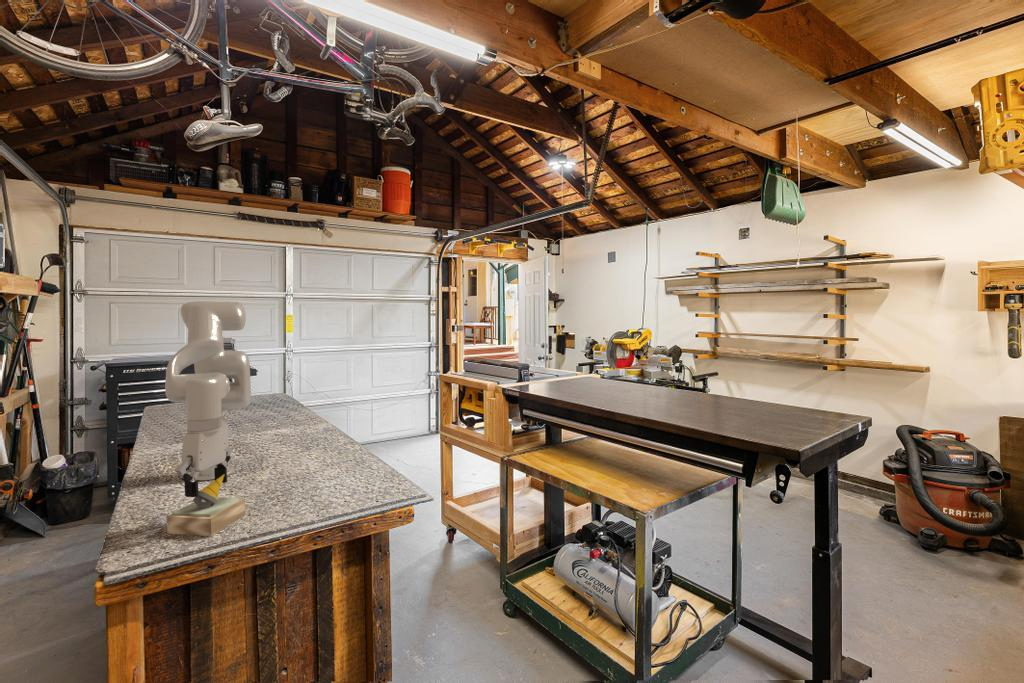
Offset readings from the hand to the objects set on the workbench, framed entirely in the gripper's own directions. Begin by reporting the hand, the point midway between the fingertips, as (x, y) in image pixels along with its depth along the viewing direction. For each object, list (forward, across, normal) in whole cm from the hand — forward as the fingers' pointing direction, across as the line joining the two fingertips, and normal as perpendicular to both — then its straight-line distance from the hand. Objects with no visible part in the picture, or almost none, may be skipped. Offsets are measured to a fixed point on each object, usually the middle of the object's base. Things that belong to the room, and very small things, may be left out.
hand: (206, 489), depth 117 cm
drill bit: (+4, -1, 0) cm, 5 cm away
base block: (+9, 0, 0) cm, 9 cm away
